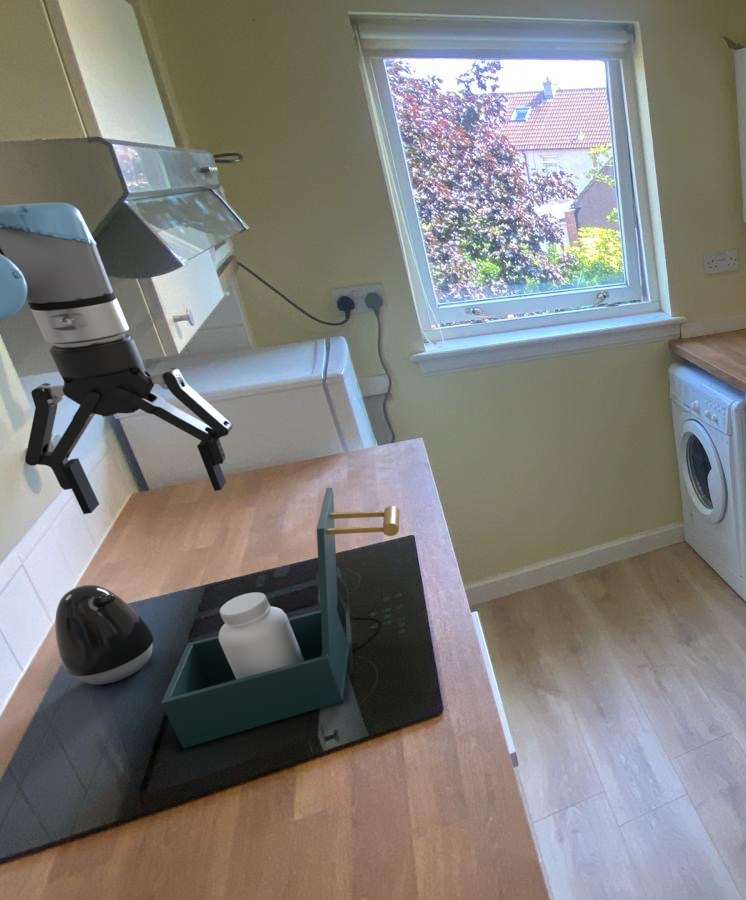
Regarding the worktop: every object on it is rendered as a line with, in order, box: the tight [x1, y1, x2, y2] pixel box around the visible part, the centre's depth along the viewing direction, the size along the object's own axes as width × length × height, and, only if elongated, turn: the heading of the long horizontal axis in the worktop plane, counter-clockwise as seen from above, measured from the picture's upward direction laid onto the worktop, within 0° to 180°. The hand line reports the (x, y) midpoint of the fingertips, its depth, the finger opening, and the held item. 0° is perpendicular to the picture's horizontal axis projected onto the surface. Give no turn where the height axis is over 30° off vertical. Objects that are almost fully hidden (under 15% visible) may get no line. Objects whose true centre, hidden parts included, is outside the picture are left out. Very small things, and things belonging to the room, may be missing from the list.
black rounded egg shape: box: [54, 584, 154, 685], centre depth 109 cm, size 10×10×15 cm
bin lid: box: [316, 487, 400, 656], centre depth 106 cm, size 19×14×9 cm
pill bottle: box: [218, 592, 304, 680], centre depth 103 cm, size 8×8×15 cm
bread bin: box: [160, 609, 350, 749], centre depth 105 cm, size 19×14×8 cm
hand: (157, 497), depth 96 cm, fingers open, 13 cm apart
